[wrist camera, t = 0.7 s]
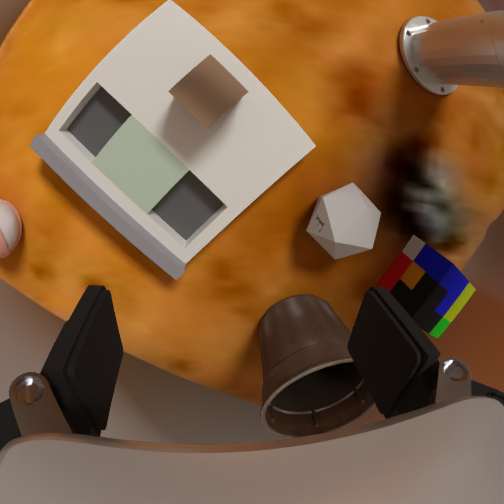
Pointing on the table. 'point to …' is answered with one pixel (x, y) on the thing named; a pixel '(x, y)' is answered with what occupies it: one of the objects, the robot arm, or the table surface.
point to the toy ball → (9, 228)
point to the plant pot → (308, 370)
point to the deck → (168, 142)
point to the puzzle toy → (427, 286)
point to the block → (208, 91)
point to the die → (344, 222)
